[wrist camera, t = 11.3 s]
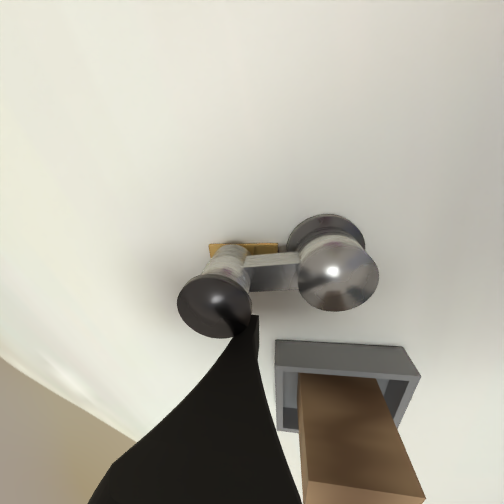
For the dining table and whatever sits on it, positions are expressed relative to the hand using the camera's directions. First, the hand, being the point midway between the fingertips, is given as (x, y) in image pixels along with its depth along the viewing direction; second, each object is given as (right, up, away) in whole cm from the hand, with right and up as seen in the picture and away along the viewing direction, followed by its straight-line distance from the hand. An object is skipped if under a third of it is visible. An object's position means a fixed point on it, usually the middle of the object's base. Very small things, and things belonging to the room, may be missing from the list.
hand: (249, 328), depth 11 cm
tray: (+6, -6, +5) cm, 10 cm away
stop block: (+6, -6, +5) cm, 10 cm away
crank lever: (+2, +4, +1) cm, 4 cm away
